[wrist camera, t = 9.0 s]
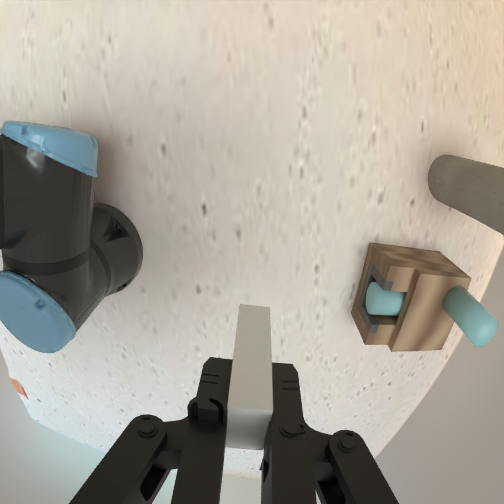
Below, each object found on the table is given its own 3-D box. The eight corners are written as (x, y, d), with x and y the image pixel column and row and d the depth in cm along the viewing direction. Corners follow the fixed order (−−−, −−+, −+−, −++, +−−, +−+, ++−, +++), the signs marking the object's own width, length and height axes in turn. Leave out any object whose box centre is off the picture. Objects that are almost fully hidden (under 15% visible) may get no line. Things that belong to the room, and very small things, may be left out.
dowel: (438, 311, 38) (467, 348, 30) (448, 284, 36) (481, 318, 28) (459, 312, 38) (488, 346, 30) (469, 286, 36) (502, 318, 28)
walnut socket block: (351, 313, 50) (367, 351, 41) (369, 242, 46) (394, 271, 36) (417, 315, 50) (441, 349, 41) (439, 251, 46) (471, 278, 36)
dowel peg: (363, 303, 45) (372, 320, 41) (371, 276, 44) (381, 291, 39) (428, 306, 46) (440, 322, 41) (437, 282, 44) (450, 296, 39)
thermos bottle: (471, 185, 41) (595, 243, 15) (441, 212, 43) (562, 291, 17) (451, 145, 39) (590, 180, 13) (419, 172, 41) (556, 229, 15)
